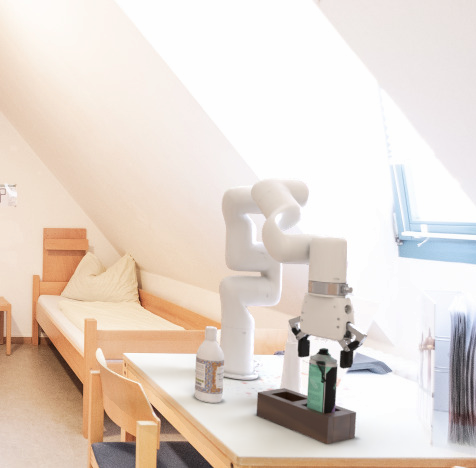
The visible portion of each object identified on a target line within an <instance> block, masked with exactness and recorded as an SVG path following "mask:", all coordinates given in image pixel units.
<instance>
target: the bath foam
mask: <svg viewBox="0 0 476 468" xmlns="http://www.w3.org/2000/svg"><path fill="white" fill-rule="evenodd" d="M204 329H205V330H204V340H203V341H202V342H201V344H200V345H199V346H198V348H197V351H196V354H195V372H194V376H195V377H194V398H196V399H198V401H201V402H205V403H210V404H218V403H221V402H222V401H223V395H224V393H223V392H224V376H223V373H224V354H223V351H222V349H221V347H220V343H219V342H218V340H217V339H218V328H217V327H216V326H212V325H206V326H205V328H204Z"/></svg>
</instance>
